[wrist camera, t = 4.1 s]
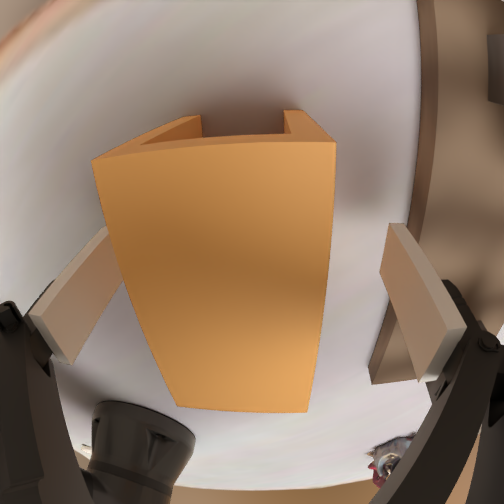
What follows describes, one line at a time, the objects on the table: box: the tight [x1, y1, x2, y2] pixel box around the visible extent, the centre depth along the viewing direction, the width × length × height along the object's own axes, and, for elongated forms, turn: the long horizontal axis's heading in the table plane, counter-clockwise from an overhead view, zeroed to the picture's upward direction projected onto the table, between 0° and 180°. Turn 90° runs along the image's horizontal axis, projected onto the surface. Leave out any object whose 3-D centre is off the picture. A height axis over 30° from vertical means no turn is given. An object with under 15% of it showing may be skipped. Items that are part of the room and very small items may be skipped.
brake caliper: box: [368, 437, 414, 488], centre depth 33 cm, size 11×10×11 cm
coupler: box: [91, 110, 336, 413], centre depth 14 cm, size 12×6×9 cm, turn 3°
